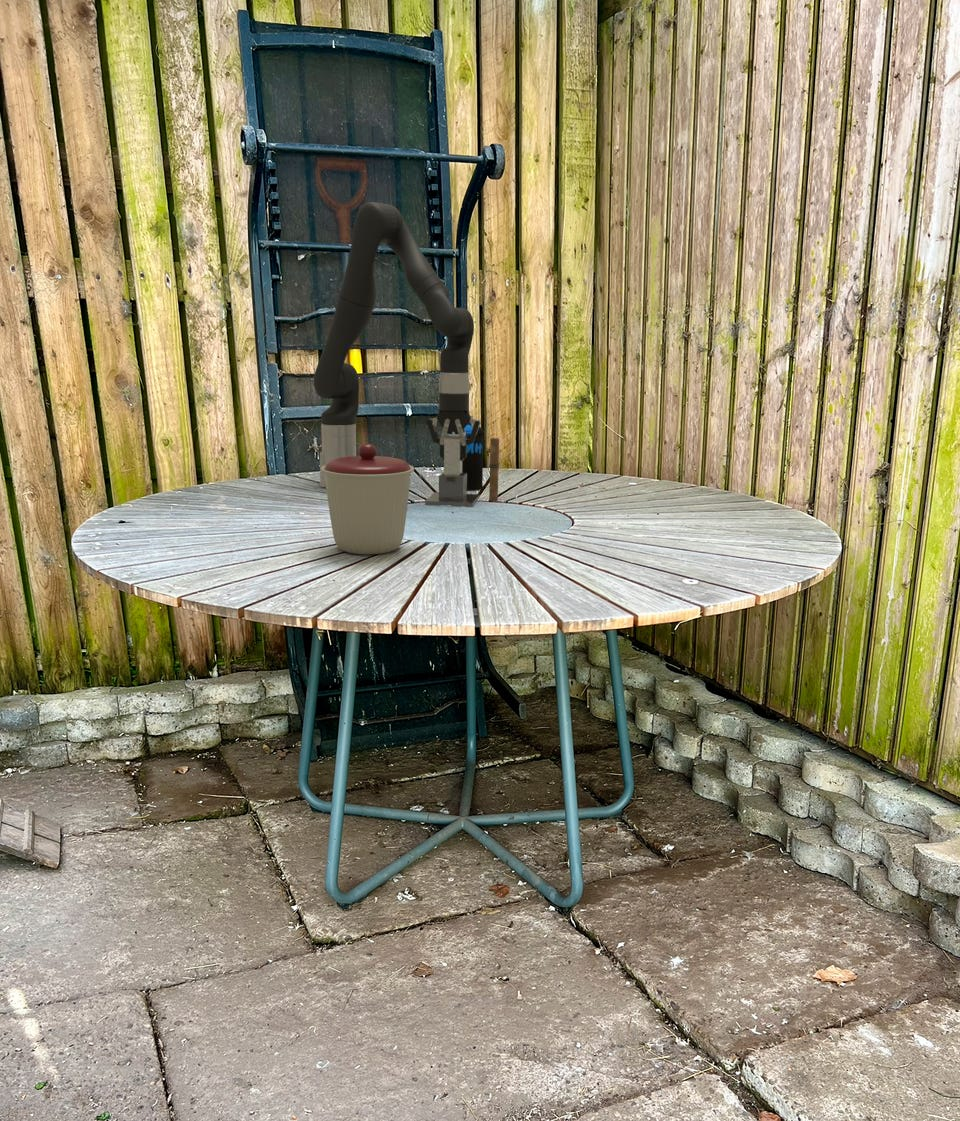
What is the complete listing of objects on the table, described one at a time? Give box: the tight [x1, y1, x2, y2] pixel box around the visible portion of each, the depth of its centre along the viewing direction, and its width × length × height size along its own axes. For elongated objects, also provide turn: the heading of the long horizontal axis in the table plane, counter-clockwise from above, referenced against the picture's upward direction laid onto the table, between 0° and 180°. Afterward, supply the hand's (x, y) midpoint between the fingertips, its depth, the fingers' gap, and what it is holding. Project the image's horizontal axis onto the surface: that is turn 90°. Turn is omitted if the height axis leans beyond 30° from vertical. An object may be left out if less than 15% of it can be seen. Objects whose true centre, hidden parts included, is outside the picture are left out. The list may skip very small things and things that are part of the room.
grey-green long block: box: [443, 433, 462, 476], centre depth 226 cm, size 5×5×16 cm
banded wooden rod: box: [488, 437, 500, 502], centre depth 229 cm, size 2×2×16 cm
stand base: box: [424, 471, 480, 508], centre depth 228 cm, size 12×12×7 cm
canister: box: [321, 443, 415, 556], centre depth 176 cm, size 18×18×21 cm
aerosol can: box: [454, 414, 485, 492], centre depth 245 cm, size 8×8×20 cm
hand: (453, 459), depth 226 cm, fingers closed on grey-green long block, 4 cm apart
